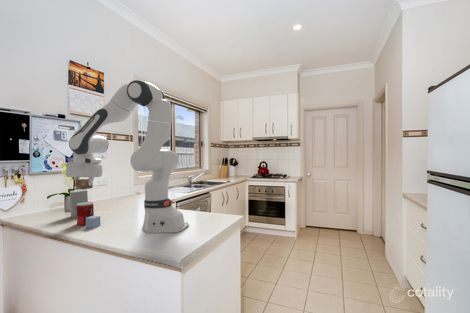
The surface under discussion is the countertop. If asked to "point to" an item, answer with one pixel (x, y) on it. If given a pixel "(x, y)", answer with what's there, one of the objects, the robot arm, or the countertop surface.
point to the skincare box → (77, 200)
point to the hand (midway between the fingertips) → (84, 185)
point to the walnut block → (82, 184)
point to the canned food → (84, 212)
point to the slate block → (92, 221)
